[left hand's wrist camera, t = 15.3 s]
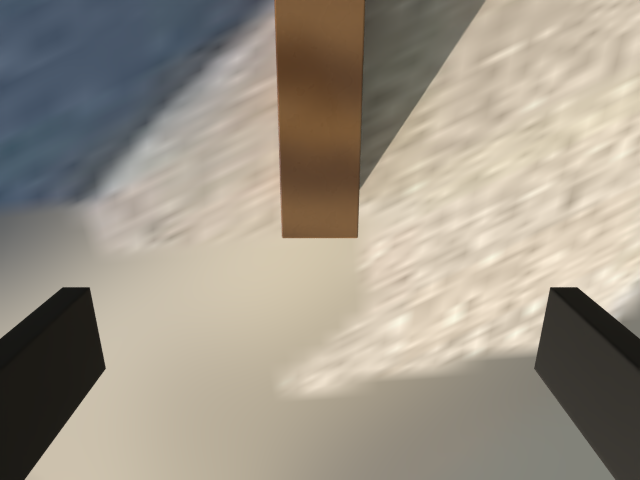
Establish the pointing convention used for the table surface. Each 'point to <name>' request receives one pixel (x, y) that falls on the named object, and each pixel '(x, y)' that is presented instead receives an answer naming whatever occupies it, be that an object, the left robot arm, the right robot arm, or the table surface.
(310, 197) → the post
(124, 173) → the table surface
